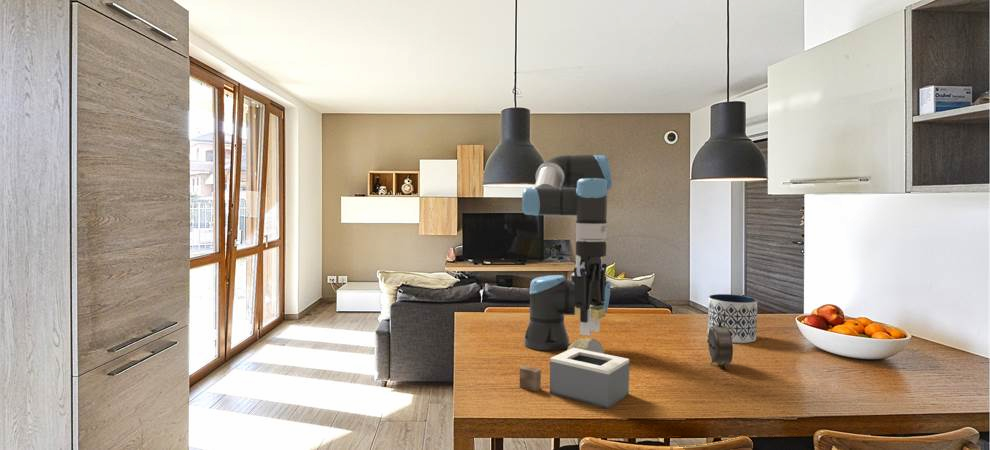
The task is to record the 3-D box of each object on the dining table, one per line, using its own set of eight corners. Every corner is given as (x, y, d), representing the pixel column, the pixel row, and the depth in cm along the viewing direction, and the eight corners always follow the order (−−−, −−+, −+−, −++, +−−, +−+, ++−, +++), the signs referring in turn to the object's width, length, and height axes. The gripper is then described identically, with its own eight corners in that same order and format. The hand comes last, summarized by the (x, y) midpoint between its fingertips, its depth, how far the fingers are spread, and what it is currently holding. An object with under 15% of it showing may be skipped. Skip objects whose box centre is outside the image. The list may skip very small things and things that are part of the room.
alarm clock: (733, 372, 147) (735, 316, 146) (713, 371, 148) (715, 315, 147) (723, 360, 158) (724, 308, 157) (704, 359, 159) (705, 307, 158)
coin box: (549, 393, 131) (550, 358, 130) (572, 380, 140) (573, 347, 140) (608, 408, 121) (608, 371, 120) (628, 393, 130) (629, 358, 130)
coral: (592, 354, 141) (567, 332, 148) (582, 382, 145) (559, 360, 152) (615, 345, 147) (590, 325, 154) (605, 373, 151) (581, 352, 158)
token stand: (519, 386, 135) (519, 368, 135) (524, 384, 137) (524, 365, 136) (535, 391, 132) (535, 372, 132) (540, 388, 134) (540, 369, 133)
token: (574, 315, 130) (574, 306, 130) (582, 312, 133) (582, 304, 133) (598, 319, 126) (598, 310, 126) (605, 316, 129) (605, 307, 129)
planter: (702, 331, 194) (703, 293, 193) (747, 333, 192) (748, 294, 191) (714, 342, 178) (715, 301, 178) (763, 344, 176) (764, 303, 175)
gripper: (588, 243, 120) (587, 342, 121) (619, 239, 133) (618, 328, 134) (560, 241, 124) (559, 337, 125) (593, 238, 138) (591, 324, 139)
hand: (589, 332), depth 130 cm, fingers closed on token, 4 cm apart
